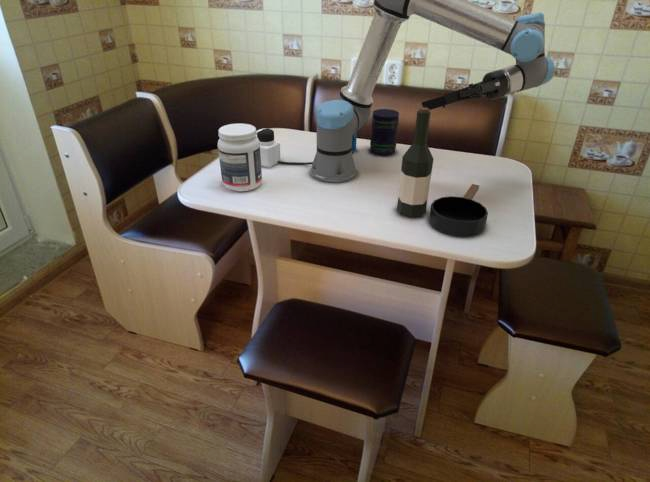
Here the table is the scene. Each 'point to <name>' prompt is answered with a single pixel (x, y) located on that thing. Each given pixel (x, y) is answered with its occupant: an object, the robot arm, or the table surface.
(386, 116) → the storage jar
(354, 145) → the beverage can
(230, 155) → the supplement tub
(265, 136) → the medicine bottle
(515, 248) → the table surface
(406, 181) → the wine bottle
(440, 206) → the frying pan
